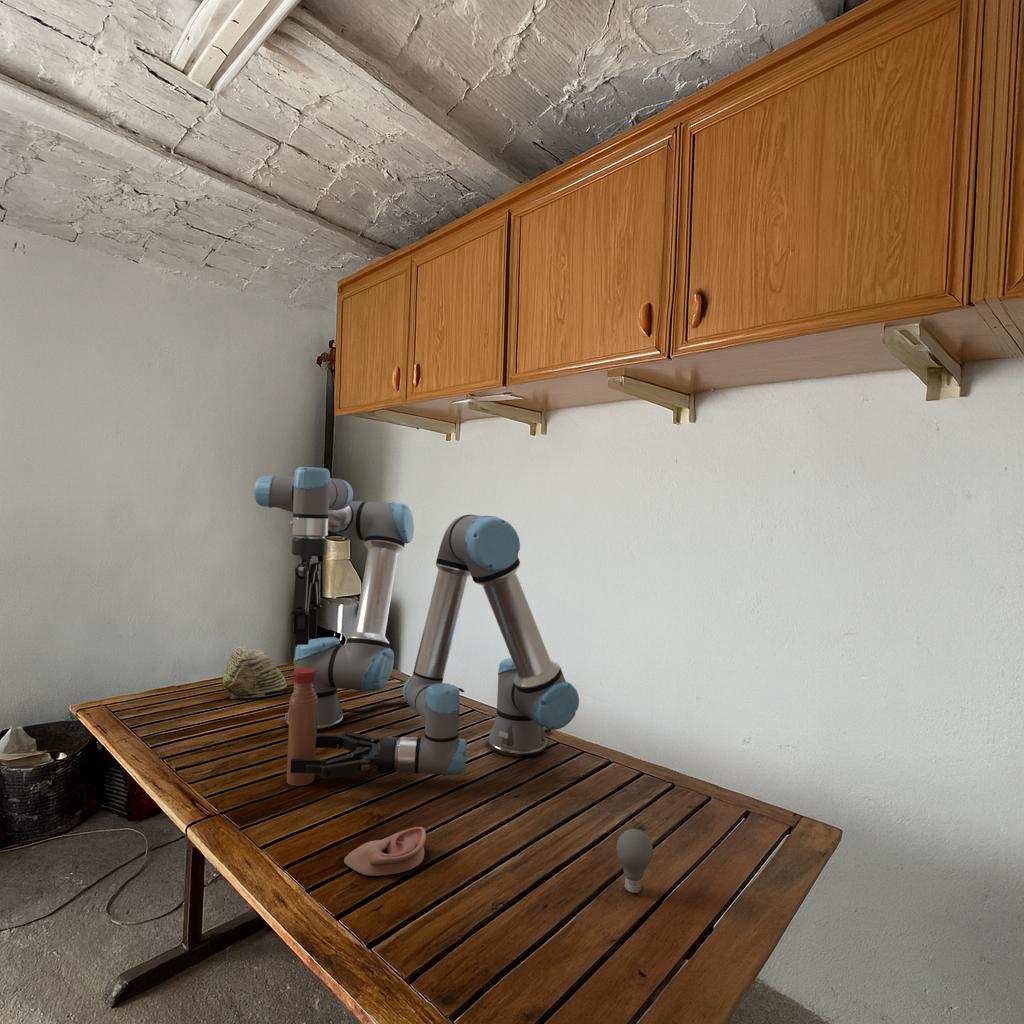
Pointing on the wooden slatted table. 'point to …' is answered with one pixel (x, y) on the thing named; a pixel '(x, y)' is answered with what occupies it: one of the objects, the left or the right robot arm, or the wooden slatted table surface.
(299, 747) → the bottle
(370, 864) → the anatomical model
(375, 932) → the wooden slatted table surface
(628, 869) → the light bulb
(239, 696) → the fossil
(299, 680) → the cap
